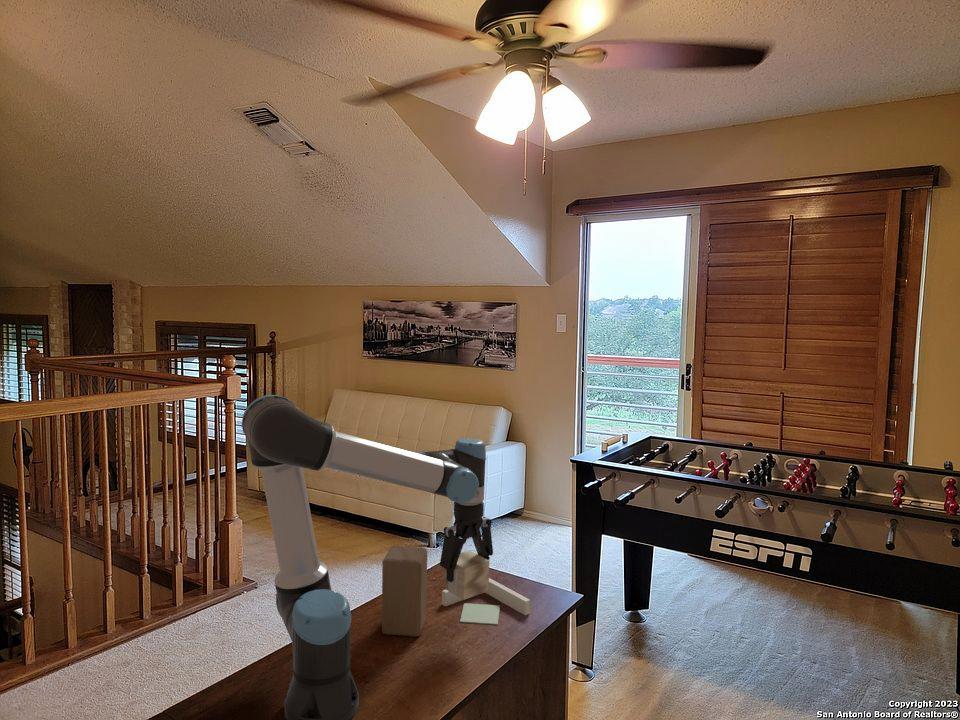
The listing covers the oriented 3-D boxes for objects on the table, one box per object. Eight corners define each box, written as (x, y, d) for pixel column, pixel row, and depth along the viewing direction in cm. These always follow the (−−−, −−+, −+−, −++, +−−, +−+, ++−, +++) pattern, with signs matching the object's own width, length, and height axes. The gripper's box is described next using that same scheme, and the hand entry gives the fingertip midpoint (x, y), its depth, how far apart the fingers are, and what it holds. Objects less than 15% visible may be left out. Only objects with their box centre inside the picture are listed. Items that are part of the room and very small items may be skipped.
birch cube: (463, 599, 162) (464, 568, 161) (443, 587, 168) (444, 557, 167) (488, 591, 167) (489, 560, 166) (468, 579, 173) (469, 550, 172)
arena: (479, 634, 170) (479, 620, 169) (435, 606, 184) (436, 592, 183) (529, 613, 181) (530, 599, 181) (484, 588, 195) (485, 575, 195)
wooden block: (426, 618, 177) (428, 546, 175) (419, 638, 167) (420, 562, 165) (390, 616, 178) (390, 544, 176) (380, 635, 168) (381, 560, 166)
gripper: (444, 513, 156) (442, 605, 158) (509, 497, 169) (506, 582, 172) (426, 504, 161) (423, 593, 164) (490, 489, 175) (487, 572, 177)
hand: (466, 588), depth 168 cm, fingers closed on birch cube, 8 cm apart
